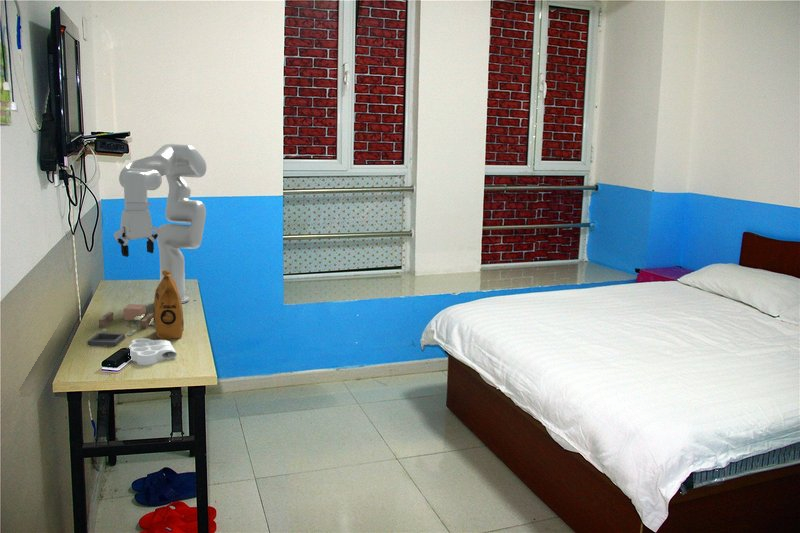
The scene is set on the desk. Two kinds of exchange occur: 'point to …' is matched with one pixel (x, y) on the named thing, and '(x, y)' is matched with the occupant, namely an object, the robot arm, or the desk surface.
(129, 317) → the push block
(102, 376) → the desk surface
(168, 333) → the coffee package
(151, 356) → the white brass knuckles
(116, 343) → the grey shallow tray
